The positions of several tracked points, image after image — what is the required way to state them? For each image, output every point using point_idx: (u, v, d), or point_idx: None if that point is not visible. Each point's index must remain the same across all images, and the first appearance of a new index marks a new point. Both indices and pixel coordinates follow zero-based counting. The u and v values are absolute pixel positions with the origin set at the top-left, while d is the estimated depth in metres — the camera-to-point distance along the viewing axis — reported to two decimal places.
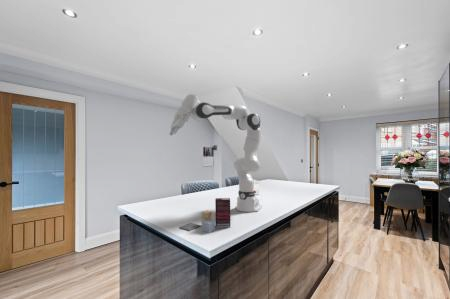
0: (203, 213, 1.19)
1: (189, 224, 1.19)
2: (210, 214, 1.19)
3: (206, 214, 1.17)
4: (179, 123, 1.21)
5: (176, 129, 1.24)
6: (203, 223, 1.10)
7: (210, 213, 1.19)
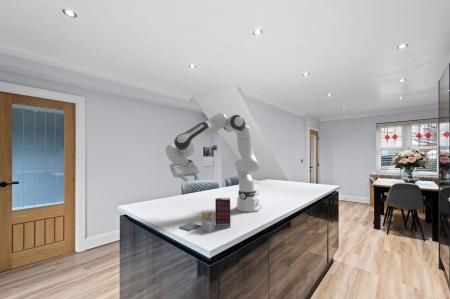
0: (203, 213, 1.19)
1: (189, 224, 1.19)
2: (210, 214, 1.19)
3: (206, 214, 1.17)
4: (174, 175, 1.22)
5: (182, 178, 1.23)
6: (203, 223, 1.10)
7: (210, 213, 1.19)
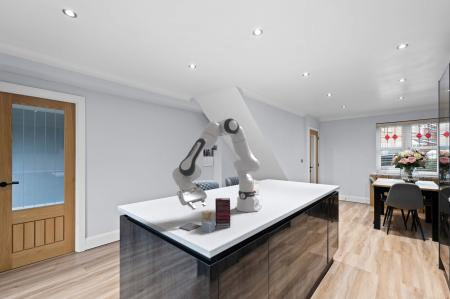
0: (203, 213, 1.19)
1: (189, 224, 1.19)
2: (210, 214, 1.19)
3: (206, 214, 1.17)
4: (182, 203, 1.17)
5: (190, 205, 1.19)
6: (203, 223, 1.10)
7: (210, 213, 1.19)
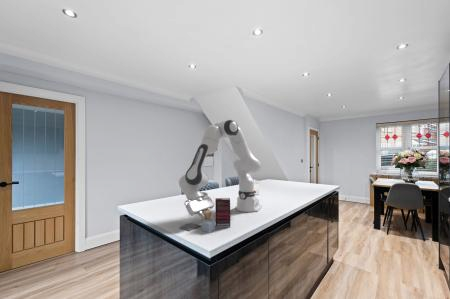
0: (203, 213, 1.19)
1: (189, 224, 1.19)
2: (210, 214, 1.19)
3: (206, 214, 1.17)
4: (189, 213, 1.14)
5: (200, 214, 1.17)
6: (203, 223, 1.10)
7: (210, 213, 1.19)
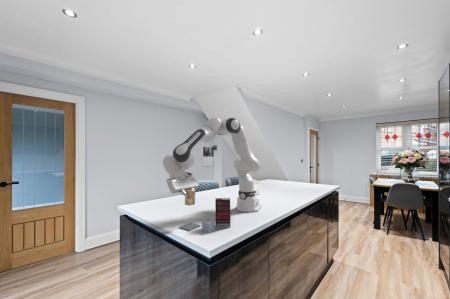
0: (186, 192, 1.16)
1: (189, 224, 1.19)
2: (193, 193, 1.16)
3: (189, 192, 1.14)
4: (171, 191, 1.11)
5: (183, 193, 1.14)
6: (203, 223, 1.10)
7: (193, 192, 1.16)
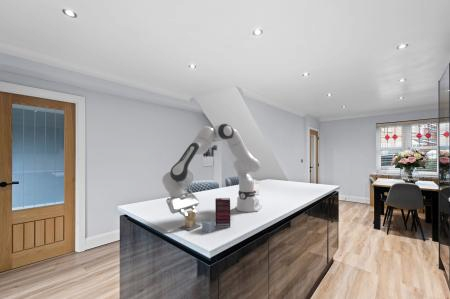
0: None
1: None
2: (193, 214, 1.16)
3: (189, 214, 1.14)
4: (171, 211, 1.11)
5: (182, 213, 1.13)
6: (203, 223, 1.10)
7: (193, 213, 1.16)
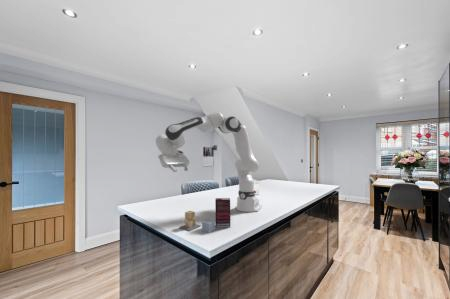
0: (186, 213, 1.16)
1: None
2: (193, 214, 1.16)
3: (189, 214, 1.14)
4: (163, 165, 1.20)
5: (171, 168, 1.21)
6: (203, 223, 1.10)
7: (193, 213, 1.16)
